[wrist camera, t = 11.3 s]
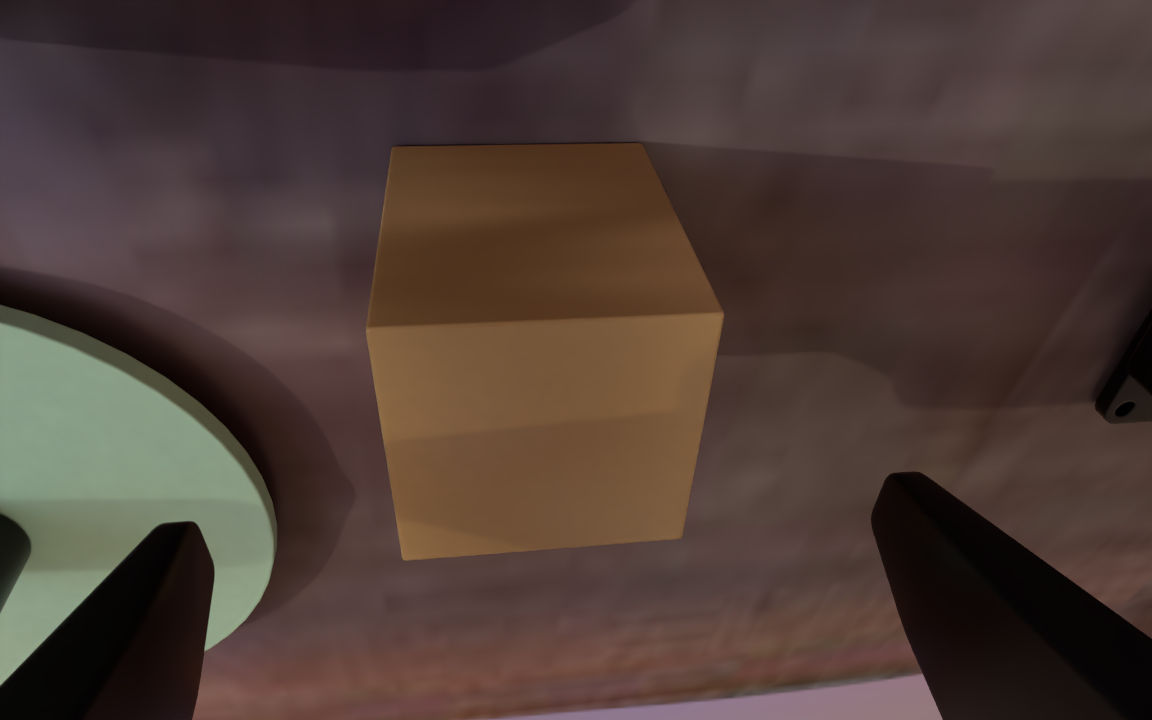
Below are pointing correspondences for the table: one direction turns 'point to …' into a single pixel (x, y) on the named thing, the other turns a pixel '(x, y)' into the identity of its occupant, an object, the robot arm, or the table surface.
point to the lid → (111, 481)
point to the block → (537, 348)
